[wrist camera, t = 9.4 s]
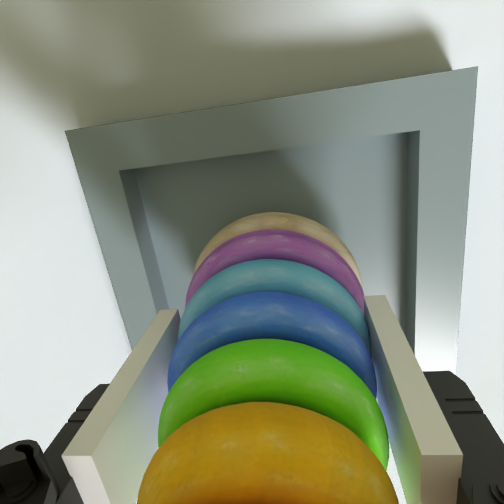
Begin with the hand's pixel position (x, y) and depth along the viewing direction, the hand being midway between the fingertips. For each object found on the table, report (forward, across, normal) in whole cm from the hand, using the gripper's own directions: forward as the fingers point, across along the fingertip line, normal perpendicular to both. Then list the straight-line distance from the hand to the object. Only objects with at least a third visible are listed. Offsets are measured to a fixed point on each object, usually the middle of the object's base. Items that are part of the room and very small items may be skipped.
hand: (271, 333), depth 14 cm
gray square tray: (+6, 0, 0) cm, 6 cm away
